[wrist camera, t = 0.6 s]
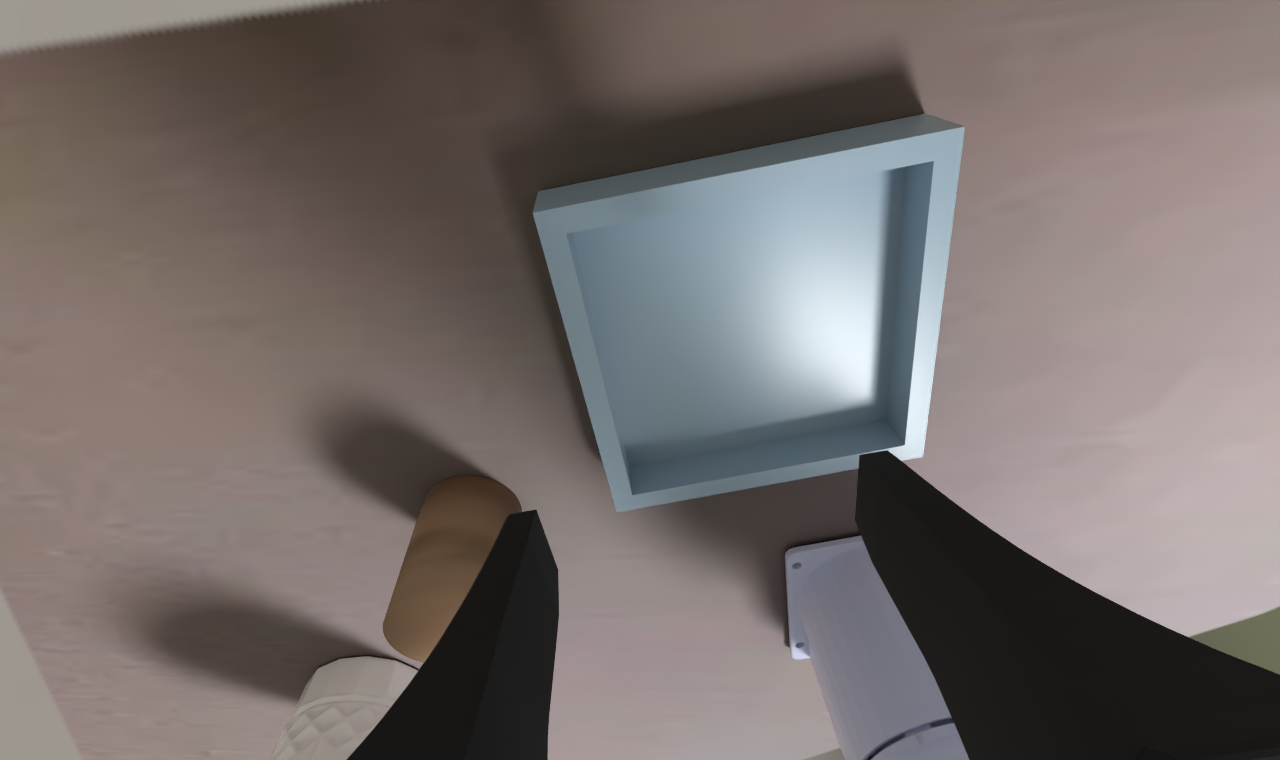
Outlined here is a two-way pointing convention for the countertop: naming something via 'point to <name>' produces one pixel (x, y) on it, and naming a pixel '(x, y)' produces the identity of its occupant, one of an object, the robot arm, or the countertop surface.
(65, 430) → the countertop surface
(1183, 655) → the robot arm
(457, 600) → the tan rounded cylinder
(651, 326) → the light blue square tray
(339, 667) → the white cup
